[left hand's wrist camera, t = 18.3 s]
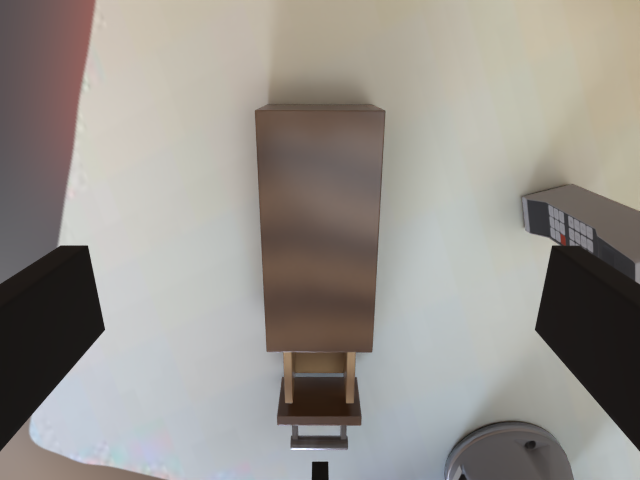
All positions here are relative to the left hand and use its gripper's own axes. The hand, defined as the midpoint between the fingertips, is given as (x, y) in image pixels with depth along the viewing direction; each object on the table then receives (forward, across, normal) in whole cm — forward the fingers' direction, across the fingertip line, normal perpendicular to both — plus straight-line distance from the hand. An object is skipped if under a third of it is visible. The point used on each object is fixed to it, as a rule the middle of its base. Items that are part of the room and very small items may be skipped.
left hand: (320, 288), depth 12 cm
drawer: (+30, 0, -20) cm, 36 cm away
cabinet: (+31, 0, -7) cm, 32 cm away
